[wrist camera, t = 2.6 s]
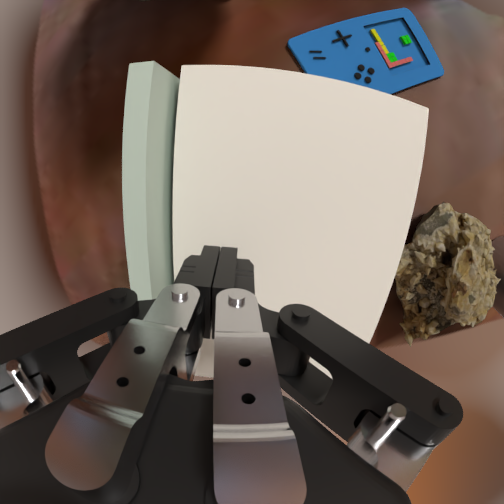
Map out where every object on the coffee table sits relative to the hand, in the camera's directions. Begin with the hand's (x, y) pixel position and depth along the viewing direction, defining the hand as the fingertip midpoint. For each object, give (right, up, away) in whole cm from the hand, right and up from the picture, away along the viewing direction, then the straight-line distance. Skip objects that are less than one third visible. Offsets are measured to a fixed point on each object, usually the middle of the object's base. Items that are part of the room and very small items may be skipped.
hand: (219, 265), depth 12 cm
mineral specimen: (+21, 0, +15) cm, 26 cm away
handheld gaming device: (+13, +19, +7) cm, 24 cm away
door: (-3, +5, +11) cm, 13 cm away
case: (+3, +5, +12) cm, 14 cm away
